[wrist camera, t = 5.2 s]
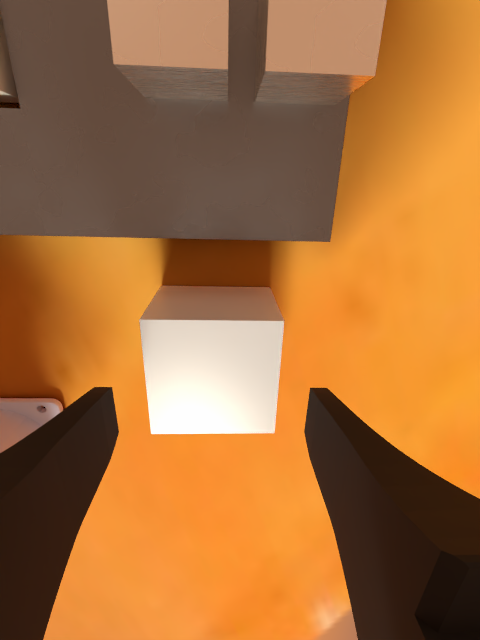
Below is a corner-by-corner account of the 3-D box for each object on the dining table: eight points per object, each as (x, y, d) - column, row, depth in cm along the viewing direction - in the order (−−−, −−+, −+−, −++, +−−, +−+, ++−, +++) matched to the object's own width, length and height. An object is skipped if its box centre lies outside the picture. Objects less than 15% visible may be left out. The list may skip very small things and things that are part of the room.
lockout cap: (168, 378, 19) (151, 433, 15) (161, 285, 16) (139, 319, 12) (263, 378, 19) (274, 433, 15) (269, 287, 17) (284, 321, 13)
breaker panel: (-109, 225, 15) (-283, 246, 10) (-277, -216, 10) (-814, -640, 5) (317, 235, 16) (361, 259, 11) (365, -164, 11) (489, -477, 6)
